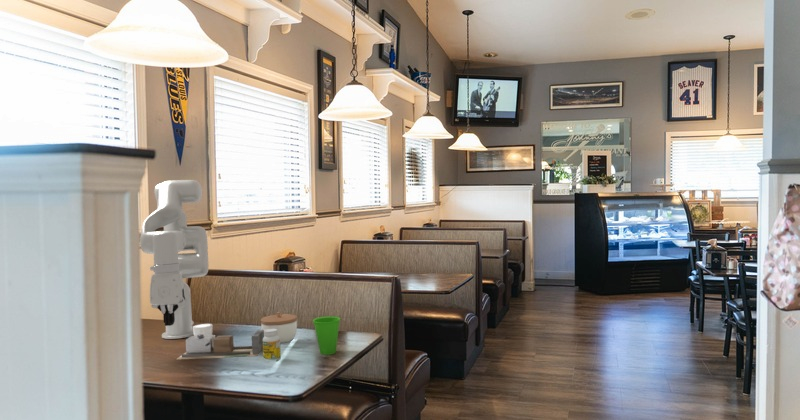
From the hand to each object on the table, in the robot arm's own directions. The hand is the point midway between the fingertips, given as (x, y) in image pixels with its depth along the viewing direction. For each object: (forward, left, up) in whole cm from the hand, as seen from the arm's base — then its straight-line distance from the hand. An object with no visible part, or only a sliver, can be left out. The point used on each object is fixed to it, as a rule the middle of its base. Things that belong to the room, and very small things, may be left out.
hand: (169, 324), depth 183 cm
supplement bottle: (+6, +35, -11) cm, 37 cm away
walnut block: (-1, +17, -10) cm, 20 cm away
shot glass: (-17, +5, -11) cm, 21 cm away
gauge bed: (-1, +17, -11) cm, 20 cm away
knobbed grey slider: (+1, +10, -10) cm, 14 cm away
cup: (0, +52, -11) cm, 53 cm away
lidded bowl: (-15, +33, -11) cm, 38 cm away
